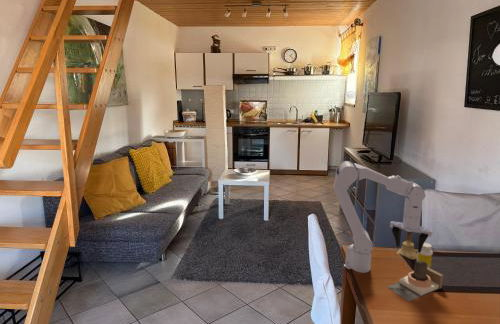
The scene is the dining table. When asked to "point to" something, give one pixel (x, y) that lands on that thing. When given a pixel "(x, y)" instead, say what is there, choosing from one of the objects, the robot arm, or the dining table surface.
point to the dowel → (420, 271)
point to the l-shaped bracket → (435, 278)
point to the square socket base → (418, 284)
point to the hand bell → (408, 248)
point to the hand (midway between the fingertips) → (408, 248)
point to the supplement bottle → (425, 255)
